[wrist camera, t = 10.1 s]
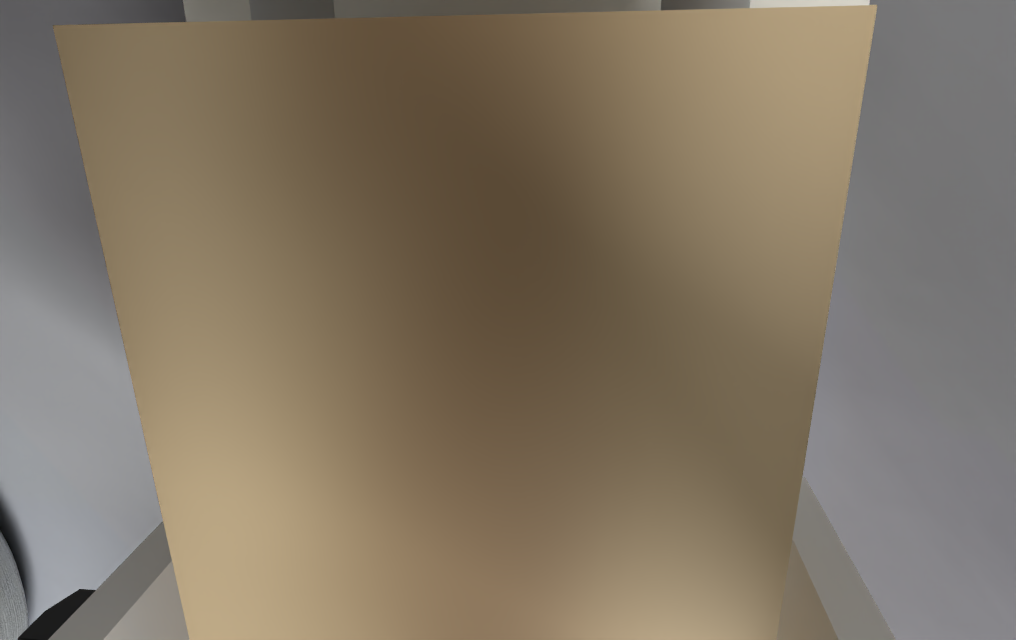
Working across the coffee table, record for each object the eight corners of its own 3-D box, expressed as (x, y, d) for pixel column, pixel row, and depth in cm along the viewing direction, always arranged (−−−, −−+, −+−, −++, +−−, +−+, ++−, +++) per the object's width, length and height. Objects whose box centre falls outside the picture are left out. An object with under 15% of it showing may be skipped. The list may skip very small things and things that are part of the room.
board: (334, 868, 16) (278, 1040, 13) (209, 42, 10) (52, 25, 7) (680, 909, 15) (702, 1103, 12) (782, 31, 9) (876, 5, 6)
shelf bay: (322, 784, 20) (139, 1274, 12) (191, -97, 12) (-618, -469, 4) (730, 828, 19) (843, 1411, 10) (871, -127, 11) (1736, -768, 3)
